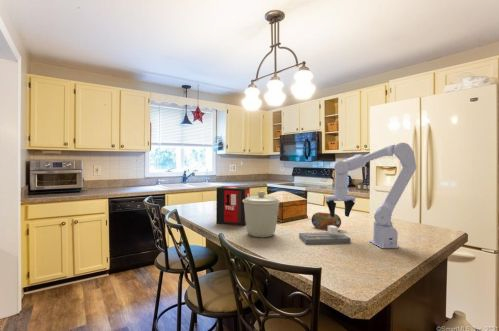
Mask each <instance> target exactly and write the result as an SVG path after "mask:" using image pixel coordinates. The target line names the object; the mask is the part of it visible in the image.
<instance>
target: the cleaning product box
mask: <svg viewBox="0 0 499 331" xmlns="http://www.w3.org/2000/svg"><path fill="white" fill-rule="evenodd" d="M250 192H251V190H250V187H247V186H246V187H245V186H225V185H224V186H223V185H222V186H218V187H216V206H215V207H216V209H215V210H216V212H215V213H216V218H215V219H216V224H217V225H227V226H228V225H229V226H240V227H245V226H246V220H245V210H244V203H243V201H242V200H244V199H245V198H247V197H250V196H251V195H250V194H251V193H250Z"/></svg>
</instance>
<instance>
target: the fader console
mask: <svg viewBox="0 0 499 331" xmlns="http://www.w3.org/2000/svg"><path fill="white" fill-rule="evenodd" d="M298 238H299V239H300V240H301V241H302V242H303V243H304V244H305V245H326V244H327V245H329V244H330V243H331V245H332V244H351V242H352V241H351V237H349V236H347V235H346V234H344V233H343V232H341V231H338V234H335V235H331V234H330V233H328V231H325V232H299V234H298Z"/></svg>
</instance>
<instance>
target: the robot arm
mask: <svg viewBox="0 0 499 331" xmlns="http://www.w3.org/2000/svg"><path fill="white" fill-rule="evenodd" d="M386 156H387V157H393V156H395V157H396V158H397V159H398V160H399V162H400V165H401V167H402V168H401V170H400V172H399V173H398V175H397V177H396V179H395V181H394V182H393V184H392V185H391V189H389V192H388V194H387V196H386V198H385V199H384V200H383V203H382V204H381V206H379V207H377V209H376V211H375V213H374V215H373V217H374V221H373V235H372V236H373V238H372V239H371V240H368V242H369V243H371V244H373V245H375V246H376V245H377V246H376V247H378V246H379V248H380V249H398V247H399V248H400V246H398V237H399V236H398V230H397V229H396V228H394V225H393V222H392V221H391V220H392V216H393V215H392V213H393V212H394V210H395V207H396V205H397V204H398V202H399V201H400V199H401V197H402V195H403V193H404V191H405V189H406V188H407V187H408V185H409V182H410V180H411V179H412V177H413V176H414V173H415V171H416V170H417V164H416V158H415V151H414V149H413V148H412V146H411V145H410V144H409V143H406V142H400V143H397V144H391V145H388V146H385V147H382V148H379V149H377V150H374V151H372V152H369V153H367V154H365V155H363V154H361V153H360V154H357V153H356V154H353V156H351V157H348V158H343V160H340V161H337V162H336V163H335V164H334V166H333V167H334V168H333V169H334V171H335V176H334V189H333V190H334V191H333V192H334V194H333V195H331V196H329V195H328V196H325V198H324V201H325V204H326V205H327V207H328V211H329V213H330V216H331V217H334V215H335V214H336V213H335V212H336V206H337V203H336V202H343V203H344V216H345V217H350V214H351V212H352V209H353V207H354V206H355V202H356V196H353V195H351V196H350V195H349V196H348V189H349V188H348V186H349V178H348V176H349V175H348V174H349V173H348V172H353V171H355V170H357V169H360V168H363V167H365V166H366V164H367V163H369V162H371V161H374V160H377V159H380V158H383V157H386Z"/></svg>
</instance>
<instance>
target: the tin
mask: <svg viewBox="0 0 499 331" xmlns="http://www.w3.org/2000/svg"><path fill="white" fill-rule="evenodd" d="M310 219H311V224H312V225H313V227H315V228H317V229H321V230H328V226H333V225H334V226H336V227H337V228H338V229H339V228H340V227H341V225H342V219H341V217H340V215H338V214H337V213H335V215H334V217H331V216H330V212H315V213H314V214H312V216H311V218H310Z"/></svg>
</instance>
